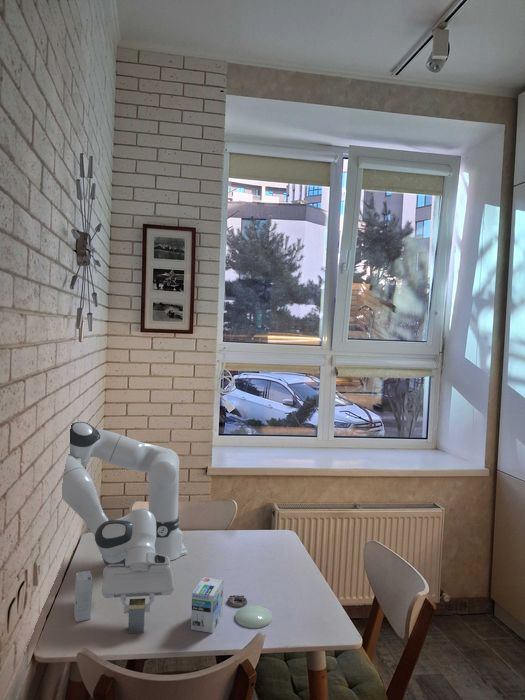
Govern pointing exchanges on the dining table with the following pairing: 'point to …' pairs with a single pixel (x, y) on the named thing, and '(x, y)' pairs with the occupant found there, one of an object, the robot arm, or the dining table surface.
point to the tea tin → (136, 616)
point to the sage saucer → (253, 616)
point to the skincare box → (83, 596)
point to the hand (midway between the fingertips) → (136, 612)
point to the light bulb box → (207, 605)
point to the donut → (237, 598)
